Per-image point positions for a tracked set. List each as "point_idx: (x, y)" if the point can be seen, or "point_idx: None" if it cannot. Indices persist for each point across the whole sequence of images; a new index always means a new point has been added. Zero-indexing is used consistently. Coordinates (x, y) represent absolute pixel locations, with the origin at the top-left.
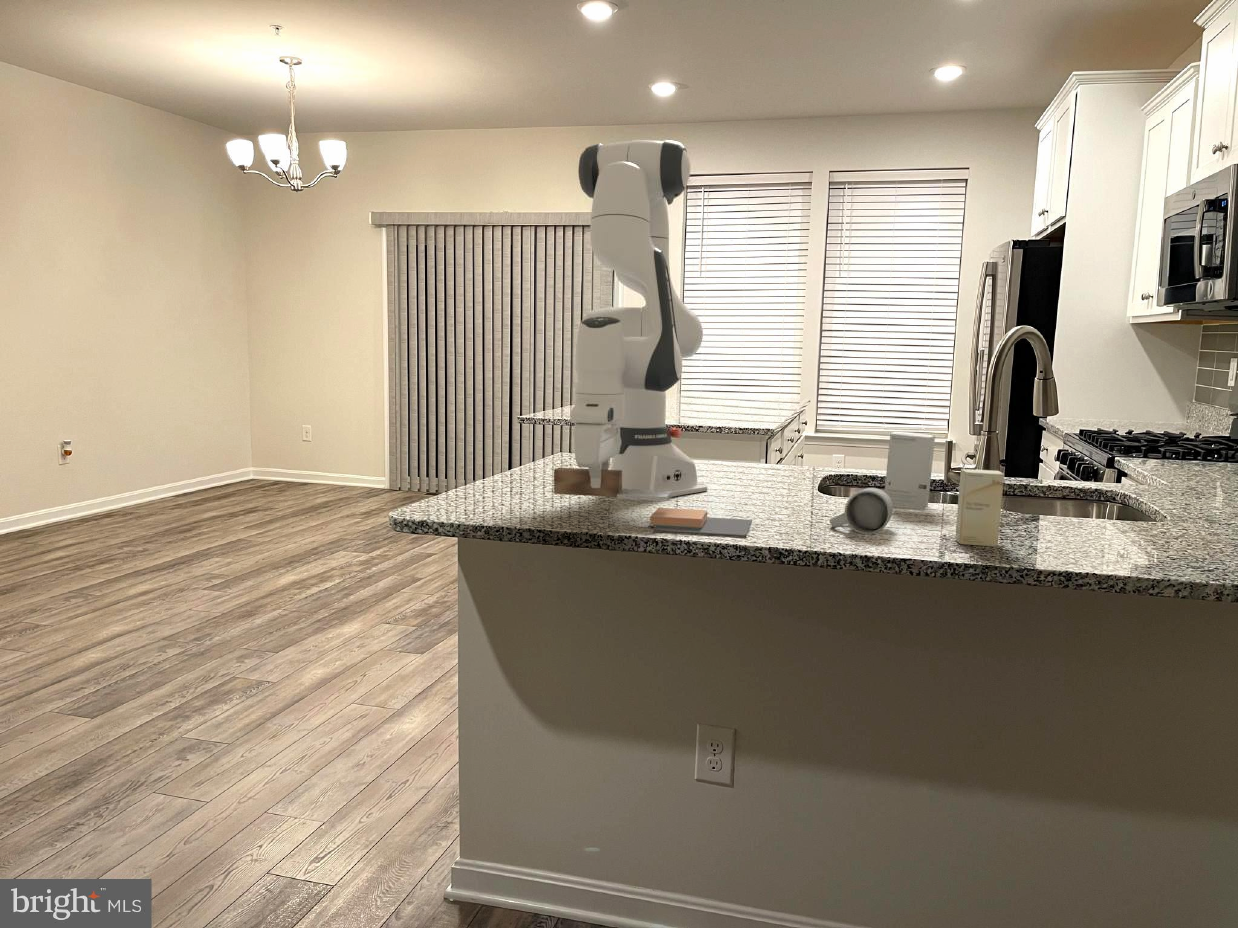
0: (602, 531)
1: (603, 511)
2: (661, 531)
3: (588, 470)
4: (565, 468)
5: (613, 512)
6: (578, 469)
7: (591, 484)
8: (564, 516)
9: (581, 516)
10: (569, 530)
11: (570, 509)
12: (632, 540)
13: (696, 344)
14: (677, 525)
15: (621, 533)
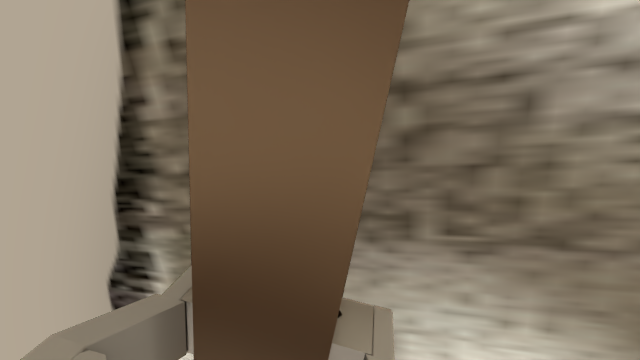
0: (177, 214)
1: (514, 225)
2: None
3: (247, 319)
4: (346, 75)
5: (488, 260)
6: (289, 237)
7: (189, 269)
8: (402, 62)
9: (404, 139)
10: (159, 113)
11: (590, 71)
12: (111, 278)
13: None
14: None
15: (170, 261)
